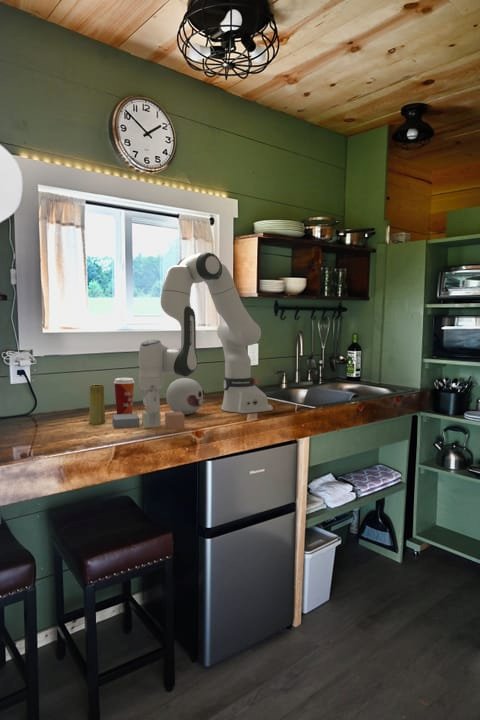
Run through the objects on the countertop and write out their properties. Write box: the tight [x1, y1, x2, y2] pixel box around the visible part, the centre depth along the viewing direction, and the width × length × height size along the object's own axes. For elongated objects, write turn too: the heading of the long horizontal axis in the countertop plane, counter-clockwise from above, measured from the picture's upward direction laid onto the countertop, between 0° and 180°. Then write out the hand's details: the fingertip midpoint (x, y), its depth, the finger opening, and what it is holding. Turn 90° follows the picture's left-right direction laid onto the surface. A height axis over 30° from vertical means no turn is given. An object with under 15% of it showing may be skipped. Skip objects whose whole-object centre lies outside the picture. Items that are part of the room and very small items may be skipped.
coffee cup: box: [113, 377, 135, 415], centre depth 200 cm, size 8×8×15 cm
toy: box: [165, 377, 205, 416], centre depth 204 cm, size 15×15×15 cm
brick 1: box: [141, 410, 162, 429], centre depth 184 cm, size 6×6×5 cm
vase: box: [88, 383, 107, 425], centre depth 187 cm, size 6×6×14 cm
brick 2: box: [164, 411, 185, 430], centre depth 183 cm, size 6×6×5 cm
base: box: [111, 413, 140, 429], centre depth 185 cm, size 9×9×3 cm
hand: (151, 421), depth 184 cm, fingers closed on brick 1, 6 cm apart
